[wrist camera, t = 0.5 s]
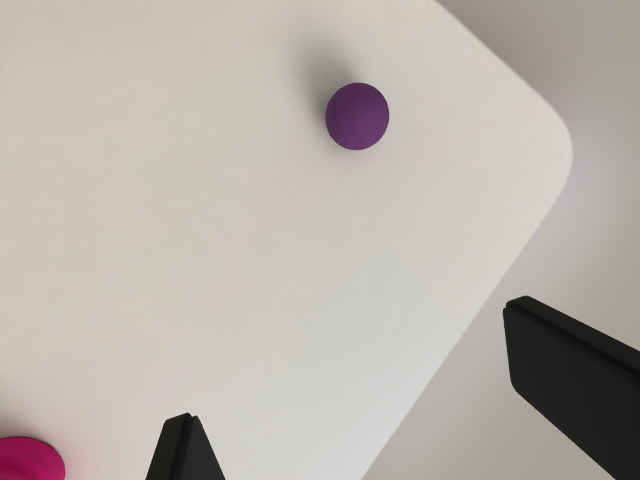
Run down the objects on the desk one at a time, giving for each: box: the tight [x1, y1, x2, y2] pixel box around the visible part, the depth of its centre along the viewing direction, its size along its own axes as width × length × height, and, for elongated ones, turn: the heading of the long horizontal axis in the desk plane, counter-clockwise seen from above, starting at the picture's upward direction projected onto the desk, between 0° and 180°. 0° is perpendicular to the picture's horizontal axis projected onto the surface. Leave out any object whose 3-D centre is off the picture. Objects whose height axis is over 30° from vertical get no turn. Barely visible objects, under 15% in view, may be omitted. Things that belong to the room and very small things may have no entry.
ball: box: [326, 83, 389, 150], centre depth 22 cm, size 4×4×4 cm
